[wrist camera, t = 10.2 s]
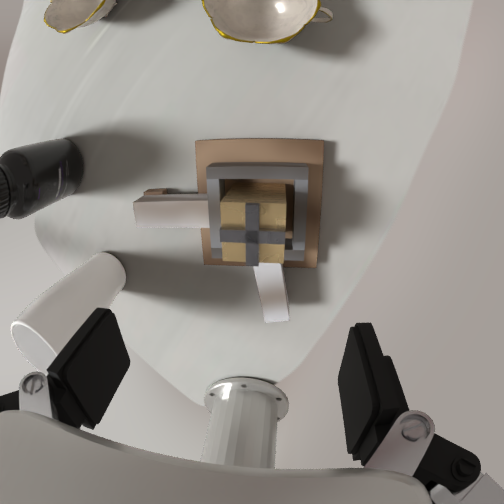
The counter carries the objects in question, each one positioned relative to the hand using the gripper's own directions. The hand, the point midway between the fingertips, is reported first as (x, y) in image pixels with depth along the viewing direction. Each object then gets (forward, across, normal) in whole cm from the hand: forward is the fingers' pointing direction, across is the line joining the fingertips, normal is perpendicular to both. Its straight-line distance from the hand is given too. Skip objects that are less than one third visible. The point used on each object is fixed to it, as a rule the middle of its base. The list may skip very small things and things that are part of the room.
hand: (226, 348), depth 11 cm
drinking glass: (+19, +18, +7) cm, 27 cm away
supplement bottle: (+18, +22, -6) cm, 29 cm away
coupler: (+17, 0, -1) cm, 17 cm away
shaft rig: (+18, +3, +2) cm, 19 cm away
